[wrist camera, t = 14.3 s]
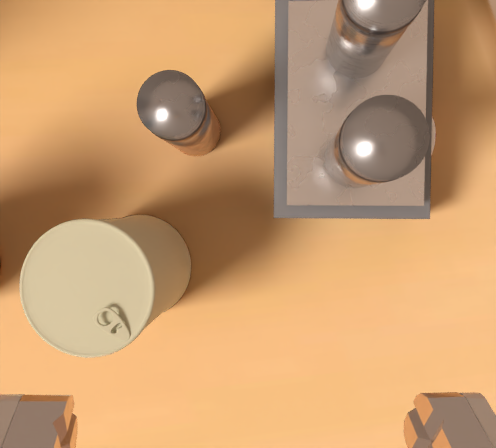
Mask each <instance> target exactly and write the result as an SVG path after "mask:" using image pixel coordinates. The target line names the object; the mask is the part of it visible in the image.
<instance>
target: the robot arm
mask: <svg viewBox="0 0 496 448" xmlns="http://www.w3.org/2000/svg"><path fill="white" fill-rule="evenodd" d="M414 405H415V407H416V408H415V409H413V410H412V411H410V412H408V414H407V416H406V418H405V421H404V436H405V441H406V444H407V447H408V448H496V415H495V414H494V412H493V410H492V409H491V407H490V405H489V404H488V402H487V400H486V399H485V397H484V396H483V395H481V394H480V393H457V392H447V393H420V394H419V395H417V396H416V398H415V400H414ZM73 408H74V400H73V395H24V394H18V395H0V448H75V447H76V440H77V417H76V416H75V415H74V414H73V413H72V412H73Z"/></svg>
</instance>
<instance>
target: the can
mask: <svg viewBox="0 0 496 448" xmlns="http://www.w3.org/2000/svg"><path fill="white" fill-rule="evenodd" d="M190 275H191V258H190V254H189V250H188V248H187V245H186V243H185V241H184V240H183V238H182V237H181V235H180V234H179V233H178V232H177V231H176V229H174V228H173V227H172V226H171V225H170V224H168V223H167V222H165V221H163V220H161V219H159V218H156V217H153V216H148V215H131V216H127V217H124V218H115V219H75V220H71V221H67V222H64V223H61V224H59V225H57V226H55V227H53V228H51V229H50V230H48V231H47V232H46V233H44V234H43V235H42V236H41V237H40V238H39V239H38V240H37V241H36V242H35V243H34V245H33V246H32V248H31V249H30V251H29V252H28V254H27V256H26V258H25V261H24V263H23V267H22V270H21V275H20V298H21V303H22V306H23V310H24V312H25V315H26V317H27V319H28V321H29V323H30V324H31V326H32V327H33V329H34V330H35V331H36V333H37V334H38V335H39V336H40V337H41V338H42V339H43V340H44V341H45V342H47V343H48V344H49V345H51V346H52V347H54V348H55V349H57V350H59V351H61V352H64V353H66V354H69V355H73V356H77V357H85V358H88V357H101V356H106V355H109V354H112V353H114V352H117V351H119V350H121V349H123V348H124V347H126V346H127V345H129V344H130V343H131V342H132V341H134V340H135V339H136V338H137V337H138V335H139V334H140V333H141V332H142V330H143V329H144V328H146V327H147V326H148V325H149V324H150V323H151V322H152V321H153V320H154V319H155V318H157V317H158V316H159V315H160V314H161V313H163V312H164V311H166V310H168V309H169V308H171V307H172V306H173V305H174V304H176V303H177V302H178V300H179V299H180V298H181V297H182V295H183V294H184V292H185V290H186V288H187V286H188V283H189V280H190Z"/></svg>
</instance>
